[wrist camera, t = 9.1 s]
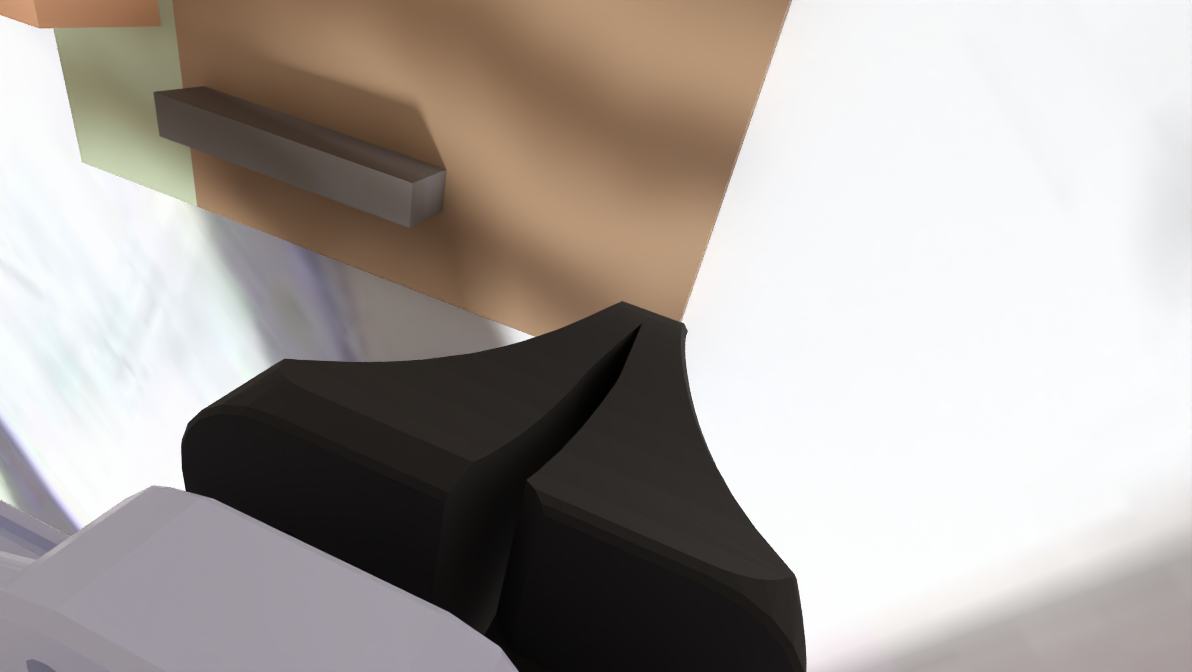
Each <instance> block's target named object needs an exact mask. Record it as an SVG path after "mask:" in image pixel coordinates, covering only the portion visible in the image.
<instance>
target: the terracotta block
mask: <svg viewBox="0 0 1192 672" xmlns="http://www.w3.org/2000/svg"><path fill="white" fill-rule="evenodd" d="M0 15H2V16H5V17H8V18H11V19H14V20H17V21H20V22H23V23H25V24H28V25H31V26H34V27H37V28H87V27H144V26H161V22H160V15H159V7H158V0H0Z"/></svg>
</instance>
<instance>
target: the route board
mask: <svg viewBox="0 0 1192 672" xmlns="http://www.w3.org/2000/svg"><path fill="white" fill-rule="evenodd" d="M791 2H792V0H158V7H159V15H160V22H161V26H144V27H87V28H53V29H54V33H55V38H56V43H57V47H58V52H59V57H60V61H61V66H62V71H63V75H64V80H65V85H66V89H67V94H68V99H69V103H70V108H71V113H72V117H73V122H74V127H75V131H76V136H77V141H78V145H79V150H80V155H81V159H82V162H83V163H86V164H88V165H91V166H93V167H96V168H99V169H101V170H104V171H106V172H109V173H112V174H114V175H117V176H119V177H122V178H125V179H127V180H130V181H132V182H135V183H138V184H140V185H143V186H145V187H148V188H151V189H153V190H156V191H158V192H161V193H163V194H166V195H169V196H171V197H174V198H176V199H179V200H182V201H184V202H187V203H189V204H192V205H195V206H197V207H200V208H202V209H205V210H208V211H210V212H213V213H215V214H218V215H221V216H223V217H226V218H228V219H231V220H234V221H236V222H239V223H241V224H244V225H247V226H249V227H252V228H254V229H257V230H260V231H262V232H265V233H267V234H270V235H272V236H275V237H278V238H280V239H283V240H285V241H288V242H291V243H293V244H296V245H298V246H301V247H304V248H306V249H309V250H311V251H314V252H317V253H319V254H322V255H324V256H327V257H330V258H332V259H335V260H337V261H340V262H343V263H345V264H348V265H350V266H353V267H356V268H358V269H361V270H363V271H366V272H369V273H371V274H374V275H376V276H379V277H381V278H384V279H387V280H389V281H392V282H394V283H397V284H400V285H402V286H405V287H407V288H410V289H413V290H415V291H418V292H420V293H423V294H426V295H428V296H431V297H433V298H436V299H439V300H441V301H444V302H446V303H449V304H452V305H454V306H457V307H459V308H462V309H465V310H467V311H470V312H472V313H475V314H478V315H480V316H483V317H485V318H488V319H490V320H493V321H496V322H498V323H501V324H503V325H506V326H509V327H511V328H514V329H516V330H519V331H522V332H524V333H527V334H529V335H532V336H535V337H537V336H540V335H543V334H546V333H548V332H551V331H554V330H557V329H560V328H562V327H565V326H567V325H569V324H572V323H574V322H577V321H579V320H581V319H583V318H586V317H588V316H590V315H592V314H594V313H597V312H599V311H601V310H603V309H605V308H607V307H610V306H612V305H614V304H616V303H619V302H621V301H624V302H627V303H629V304H632V305H635V306H638V307H640V308H643V309H646V310H649V311H651V312H654V313H657V314H659V315H662V316H665V317H668V318H670V319H673V320H676V321H679V322H681V321H682V318H683V315H684V312H685V309H686V306H687V303H688V300H689V297H690V295H691V292H692V289H693V286H694V283H695V280H696V277H697V274H698V271H699V268H700V266H701V263H702V260H703V257H704V254H705V251H706V248H707V245H708V242H709V239H710V237H711V234H712V231H713V228H714V225H715V222H716V219H717V216H718V213H719V210H720V208H721V205H722V202H723V199H724V196H725V193H726V190H727V187H728V184H729V181H730V179H731V176H732V173H733V170H734V167H735V164H736V161H737V158H738V155H739V152H740V150H741V147H742V144H743V141H744V138H745V135H746V132H747V129H748V126H749V123H750V121H751V118H752V115H753V112H754V109H755V106H756V103H757V100H758V97H759V94H760V92H761V89H762V86H763V83H764V80H765V77H766V74H767V71H768V68H769V65H770V63H771V60H772V57H773V54H774V51H775V48H776V45H777V42H778V39H779V36H780V34H781V31H782V28H783V25H784V22H785V19H786V16H787V13H788V10H789V7H790V5H791Z"/></svg>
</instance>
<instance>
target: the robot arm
mask: <svg viewBox="0 0 1192 672" xmlns="http://www.w3.org/2000/svg"><path fill="white" fill-rule="evenodd" d="M687 332H688V331H687V329H686V326H685V324H684V323H681V322H679V321H676V320H673V319H670V318H668V317H665V316H662V315H659V314H657V313H654V312H651V311H649V310H646V309H643V308H640V307H638V306H635V305H632V304H629V303H627V302H624V301H621V302H619V303H616V304H614V305H612V306H610V307H607V308H605V309H603V310H601V311H599V312H597V313H594V314H592V315H590V316H588V317H586V318H583V319H581V320H579V321H577V322H574V323H572V324H569V325H567V326H565V327H562V328H560V329H557V330H554V331H551V332H548V333H546V334H543V335H540V336H537V337H534V338H531V339H528V340H526V341H522V342H519V343H515V344H511V345H508V346H504V347H499V348H495V349H490V350H486V351H481V352H476V353H471V354H463V355H456V356H448V357H441V358H433V359H425V360H411V361H395V362H337V361H314V360H295V359H283V360H282V361H280V362H278V363H276V364H275V365H273V366H272V367H270V368H268V369H267V370H265V371H264V372H262V373H260V374H259V375H257V376H256V377H254V378H252V379H251V380H249V381H248V382H246V383H244V384H243V385H241V386H240V387H238V388H237V389H235V390H233V391H232V392H230V393H229V394H227V395H225V396H224V397H222V398H221V399H219V400H217V401H216V402H214V403H213V404H211V405H209V406H208V407H206V408H205V409H203V410H201V411H200V412H199V413H198V414H197V415H196V416H195V417H194V418H193V419H192V420H191V421H190V422H189V423H188V424H187V427H186V430H185V433H184V436H183V438H182V444H181V456H182V472H183V477H184V483H185V489H186V491H182V490H178V489H175V488H171V487H162V486H151V487H149V488H147V489H145V490H143V491H141V492H139V493H137V494H135V495H132V496H130V497H128V498H126V499H125V500H123V501H122V502H120V503H119V504H117V505H116V506H114V507H113V508H111V509H110V510H109V511H107V512H106V513H104V514H103V515H101V516H100V517H98V518H97V519H95V520H94V521H93V522H91V523H90V524H88V525H87V526H85V527H84V528H82V529H81V530H79V531H78V532H76V533H75V534H74V535H72V536H69V535H67V534H65V533H63V532H62V531H60V530H58V529H56V528H54V527H52V526H50V525H48V524H46V523H44V522H42V521H40V520H38V519H36V518H35V517H33V516H31V515H29V514H27V513H25V512H23V511H21V510H19V509H17V508H15V507H13V506H11V505H9V504H8V503H6V502H4V501H2V500H0V672H806V645H805V635H804V625H803V616H802V609H801V603H800V596H799V590H798V584H797V579H796V577H795V574H794V573H793V572H792V571H791V570H790V569H789V567H788V566H787V565H786V564H785V563H784V561H783V560H782V559H781V558H780V557H779V556H778V554H777V553H776V552H775V551H774V550H773V548H772V547H771V546H770V545H769V544H768V543H767V541H766V540H765V539H764V538H763V537H762V536H761V534H760V533H759V532H758V531H757V529H756V528H755V527H754V525H753V524H752V523H751V521H750V520H749V518H748V517H747V516H746V514H745V513H744V511H743V510H742V508H741V507H740V506H739V504H738V503H737V501H736V500H735V498H734V497H733V495H732V493H731V492H730V490H729V488H728V486H727V485H726V483H725V481H724V479H723V478H722V476H721V474H720V472H719V470H718V469H717V467H716V465H715V462H714V460H713V458H712V456H711V454H710V452H709V449H708V447H707V444H706V442H705V439H704V437H703V434H702V431H701V428H700V425H699V422H698V419H697V416H696V413H695V409H694V405H693V401H692V397H691V392H690V388H689V382H688V375H687V369H686V359H685V339H686V335H687Z"/></svg>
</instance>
